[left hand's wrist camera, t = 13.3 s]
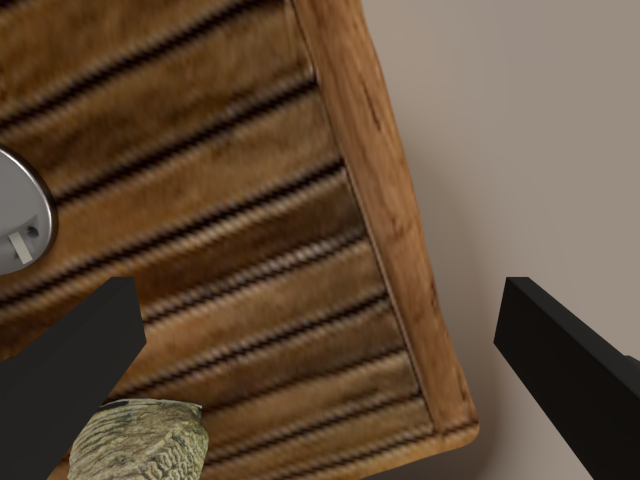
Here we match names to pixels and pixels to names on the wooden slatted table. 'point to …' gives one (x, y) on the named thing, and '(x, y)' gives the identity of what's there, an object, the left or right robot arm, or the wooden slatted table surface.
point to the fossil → (141, 442)
